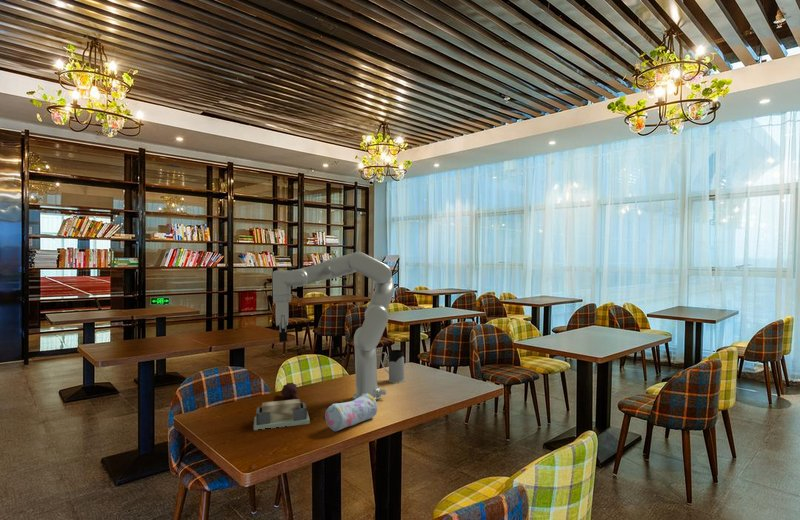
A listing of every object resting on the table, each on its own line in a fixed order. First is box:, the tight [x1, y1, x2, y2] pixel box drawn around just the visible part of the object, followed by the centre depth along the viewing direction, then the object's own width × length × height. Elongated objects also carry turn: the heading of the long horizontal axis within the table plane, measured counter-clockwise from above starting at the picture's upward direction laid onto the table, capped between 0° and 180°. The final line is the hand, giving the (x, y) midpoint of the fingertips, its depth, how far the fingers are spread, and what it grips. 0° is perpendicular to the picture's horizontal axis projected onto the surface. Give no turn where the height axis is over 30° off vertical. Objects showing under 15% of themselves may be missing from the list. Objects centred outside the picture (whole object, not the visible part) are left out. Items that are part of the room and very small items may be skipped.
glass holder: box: [379, 349, 406, 384], centre depth 235 cm, size 9×14×15 cm, turn 57°
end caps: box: [255, 401, 308, 425], centre depth 175 cm, size 18×9×4 cm, turn 106°
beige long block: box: [261, 398, 301, 422], centre depth 175 cm, size 14×5×6 cm, turn 105°
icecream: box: [280, 382, 299, 399], centre depth 209 cm, size 7×7×15 cm
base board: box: [253, 411, 311, 431], centre depth 175 cm, size 20×11×2 cm, turn 106°
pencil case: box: [324, 393, 378, 432], centre depth 171 cm, size 21×9×10 cm, turn 142°
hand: (283, 341), depth 198 cm, fingers closed
